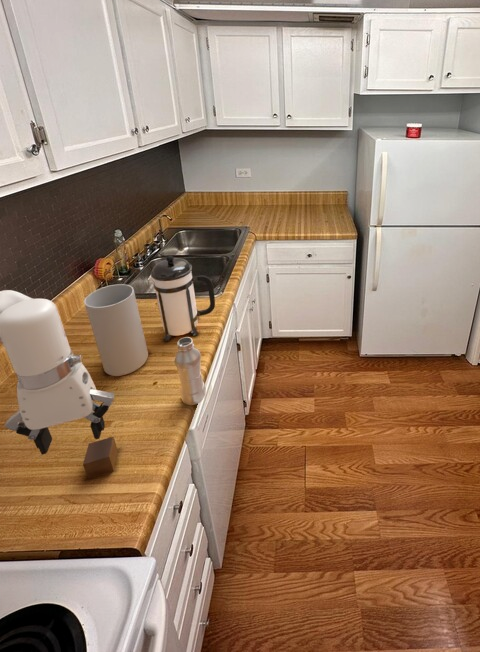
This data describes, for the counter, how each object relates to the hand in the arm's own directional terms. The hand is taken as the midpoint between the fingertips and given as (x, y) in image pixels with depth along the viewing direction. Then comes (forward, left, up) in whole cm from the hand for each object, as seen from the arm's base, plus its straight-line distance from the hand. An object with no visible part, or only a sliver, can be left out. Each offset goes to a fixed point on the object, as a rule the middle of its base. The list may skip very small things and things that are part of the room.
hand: (73, 439), depth 63 cm
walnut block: (0, +8, -18) cm, 19 cm away
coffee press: (+18, +53, -18) cm, 59 cm away
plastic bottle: (+20, +20, -18) cm, 33 cm away
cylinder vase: (0, +42, -18) cm, 45 cm away
